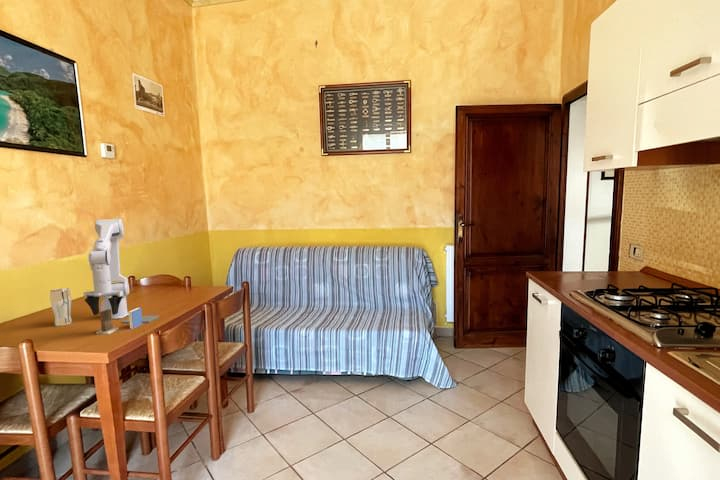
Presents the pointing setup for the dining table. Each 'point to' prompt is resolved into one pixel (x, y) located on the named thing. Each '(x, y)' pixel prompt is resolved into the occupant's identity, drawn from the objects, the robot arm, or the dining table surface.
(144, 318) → the rest mat
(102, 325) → the grey upright block
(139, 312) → the tile
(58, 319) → the beer glass
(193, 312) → the dining table surface
